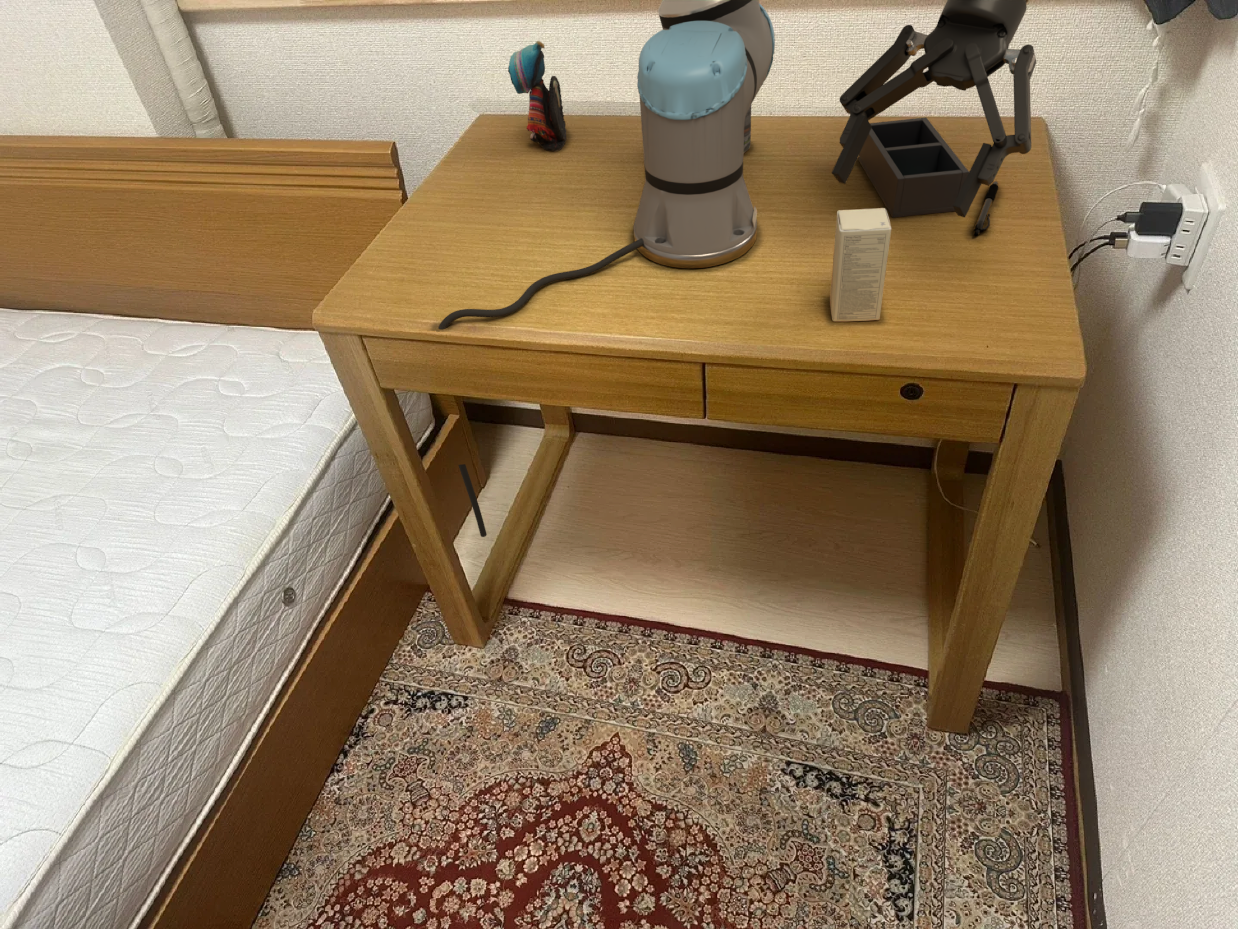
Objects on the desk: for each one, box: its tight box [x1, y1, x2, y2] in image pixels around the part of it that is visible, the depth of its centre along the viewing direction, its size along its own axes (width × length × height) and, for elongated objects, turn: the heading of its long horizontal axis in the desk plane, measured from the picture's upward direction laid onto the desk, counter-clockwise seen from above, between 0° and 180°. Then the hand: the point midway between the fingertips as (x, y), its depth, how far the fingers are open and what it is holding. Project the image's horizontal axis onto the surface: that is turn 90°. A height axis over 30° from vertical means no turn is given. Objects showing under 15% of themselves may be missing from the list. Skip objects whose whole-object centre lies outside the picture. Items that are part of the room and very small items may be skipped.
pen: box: [972, 180, 999, 238], centre depth 105 cm, size 14×2×1 cm, turn 154°
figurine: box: [507, 40, 567, 152], centre depth 126 cm, size 10×7×15 cm
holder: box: [857, 116, 970, 218], centre depth 110 cm, size 9×16×5 cm, turn 3°
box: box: [829, 207, 892, 322], centre depth 89 cm, size 5×4×11 cm
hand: (896, 194), depth 88 cm, fingers open, 13 cm apart
